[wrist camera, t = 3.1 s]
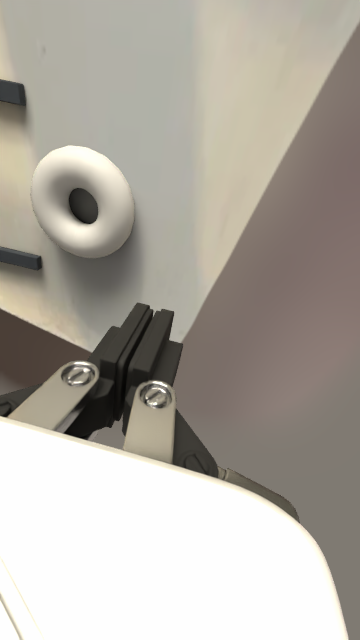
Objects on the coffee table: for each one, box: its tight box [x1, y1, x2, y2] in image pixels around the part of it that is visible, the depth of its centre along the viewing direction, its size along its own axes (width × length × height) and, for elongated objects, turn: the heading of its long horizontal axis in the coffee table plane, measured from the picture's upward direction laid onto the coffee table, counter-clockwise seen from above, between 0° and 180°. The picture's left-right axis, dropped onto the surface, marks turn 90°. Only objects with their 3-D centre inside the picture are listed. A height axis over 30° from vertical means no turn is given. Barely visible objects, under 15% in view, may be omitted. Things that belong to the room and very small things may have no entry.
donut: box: [30, 146, 134, 258], centre depth 28 cm, size 10×4×10 cm
